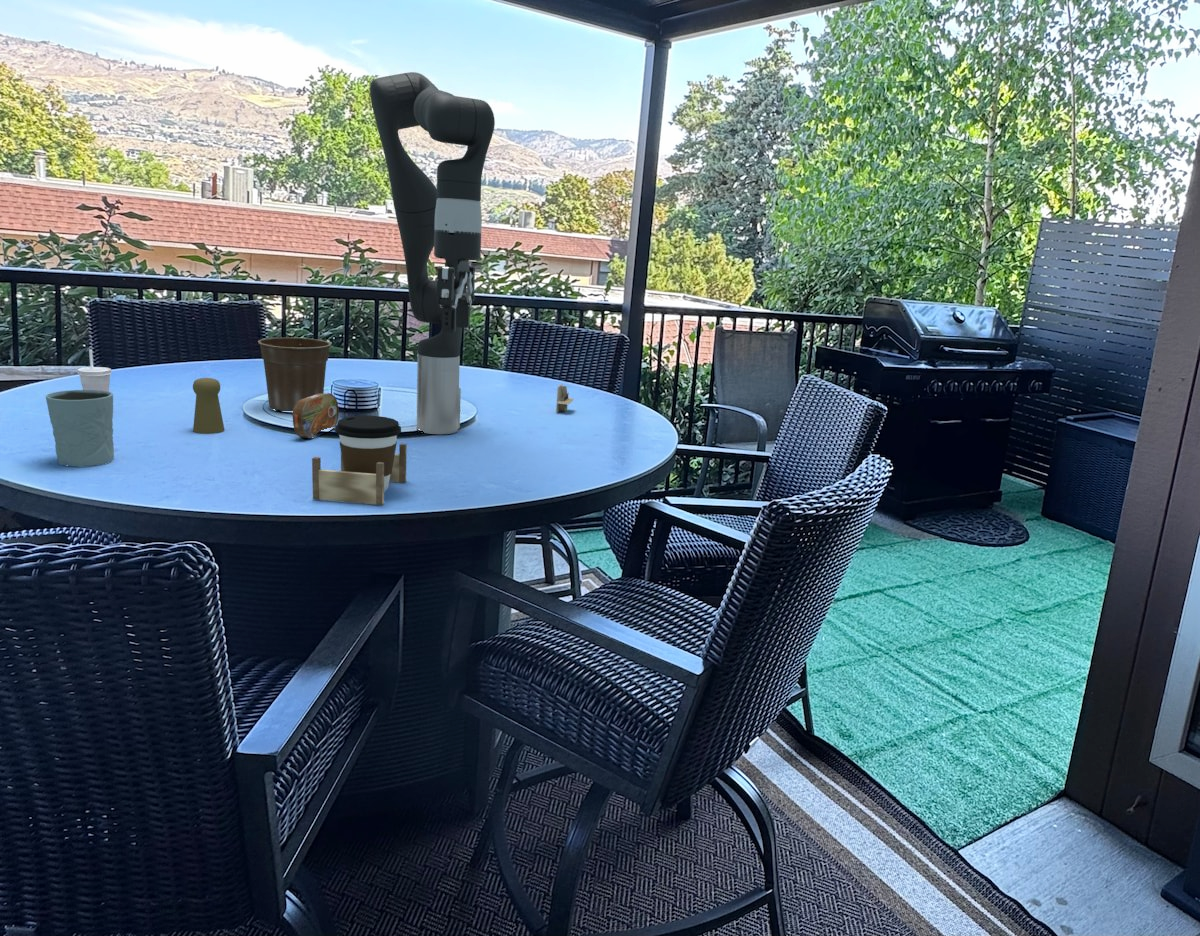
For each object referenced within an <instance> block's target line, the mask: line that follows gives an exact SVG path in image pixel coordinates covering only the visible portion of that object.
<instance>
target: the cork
mask: <svg viewBox="0 0 1200 936" xmlns="http://www.w3.org/2000/svg"><path fill="white" fill-rule="evenodd" d="M192 390H193V392H194V393H195V406H194V416H193V426H192V431H193V432H194V433H196V434H204V435H205V434H206V435H207V434H209V435H210V434H211V435H213V434H220V433H223V432H225V424H224V420H223V415H222V409H221V404H220V397H219V393H220V392H221V383H220V382H219V380H217V378H212V377H202V378H196V379H195V380H194V381H193V384H192Z"/></svg>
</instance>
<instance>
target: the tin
mask: <svg viewBox="0 0 1200 936" xmlns="http://www.w3.org/2000/svg"><path fill="white" fill-rule="evenodd" d="M339 409H340V407H339V403H338V401H337V398H336V397H335V395H334V394H332V393H328V392H327V393H324V394H323V393H320V394H316V395H313V396H310V397H307V398H304V399H301V400H299V401H298V402H297V403H296V404H295V406H294V409H293V413H292V425H293V430H294V432H295V435H297V436H298V437H299V438H303V439H310V438H312V437H314V436H316V434H317V433H318V432H319V431H321V430H324V429H327V428H331V427H336V425H337V423H338V421H339V414H340V413H339V412H340V411H339Z"/></svg>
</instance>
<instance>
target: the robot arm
mask: <svg viewBox="0 0 1200 936" xmlns="http://www.w3.org/2000/svg"><path fill="white" fill-rule="evenodd" d="M369 96H370V102H371V107H372V110H373V111H372V112H373V117H374V121H375V123H376V127H377V131H378V135H379V139H380V142H381V146H382V150H383V155H384V158H385V163H386V169H387V173H388V177H389V183H390V189H391V195H392V202H393V207H394V213H395V218H396V223H397V226H398V227H397V228H398V231H399V235H400V241H401V244H402V245H401V246H402V251H403V256H404V262H405V269H406V279H407V287H408V289H407V290H408V296H409V305H410V308H411V312H412V314H413V316H414V318H415V320H417V321H418V322H421V323H428V324H438V325H441V328H440V329H441V330H440V332H439V333H438V334H436V335H433V336H431V337H428V338H427V337H426V338H424V339H420V340H419V341H418V344H417V362H416V363H417V368H416V369H417V374H416V377H417V379H416V381H417V382H416V386H417V387H416V429H417V428H418V429H420V430H421V431H423V432H424V433H423V432H422V433H423V434H427V435H428V434H429V435H430V434H431V435H448V434H449V435H450V434H451V435H452V434H454V433H457V432H458V431H459V429H461V394H462V392H461V391H462V389H461V387H460V362H461V361H460V360H461V357H460V356H461V344H462V336H463V335H462V334H463V329H464V328H465V329H466V328H469V327H470V317H471V315H470V314H471V313H470V312H471V311H470V310H471V306H472V304H473V302H474V301H475V299H476V297H475V296H476V295H475V289H476V287H475V283H476V282H475V277H476V276H475V275H476V273H475V272H476V267H475V265H470V261H476V262H477V261H479V260H480V259H481V258H482V257H481V255H482V254H481V253H482V251H481V250H482V220H483V219H482V205H481V201H482V199H481V198H482V197H481V196H482V177H483V170H484V166H485V163H486V158H487V154H488V150H489V148H490V144H491V142H492V138H493V134H494V131H495V125H496V124H495V123H496V121H495V114H494V112H493V110H492V107H491V106H490V104H489V103H488V101H487V102H486V101H485V100H482V99H477V98H471V97H465V96H458V95H455V94H453V93H450V92H448V91H443V90H440V89H439V88H438V87H437V86H436V85H435V84H434V83H433V82H432V81H431V80H430V79H429V78H428V77H426V76H425V75H424V74H422V73H419V72H415V71H414V72H413V71H411V72H404V73H398V74H397V73H396V74H392V75H391V74H390V75H388V76H382V77H381V76H380V77H377V78H374V79H372V81H370V85H369ZM419 126H420V127H421V129H422V130H424V131H426V132H427V133H428V135H429V137H430V138H431V139H432V140H433V141H436V142H439V143H444V144H451V145H461V146H467V149H466V151H465V154H464V155H463V156H462V157H461V158H455V159H447V160H445V159H444V160H442V161H441V162H439V164H438V166H437V170H436V171H437V172H436V186H435V184H434V183H433V181H432V180H431V179H430V178H429V177H428V176H427V174H426V173H425V172H424V171H423V170H422V169H421V168H420V167H419V166H418V165H417V164H416V162H414V160H413V159H412V157H410V155H409V154H408V153H407V151H406V149H405V148H404V146H403V144H402V142H401V139H400V135H399V131H400V130H403V129H404V130H405V129H411V128H414V127H419ZM432 251H434V252H433V255H434V257H435V258H436V259H442V260H445V262H444V266H442V265H441V266H439V265H438V267H437V269H436V271H437V275H436V276H437V278H436V280H435V279H430V277H429V275H428V262H429V258H430V256H431V253H432Z"/></svg>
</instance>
